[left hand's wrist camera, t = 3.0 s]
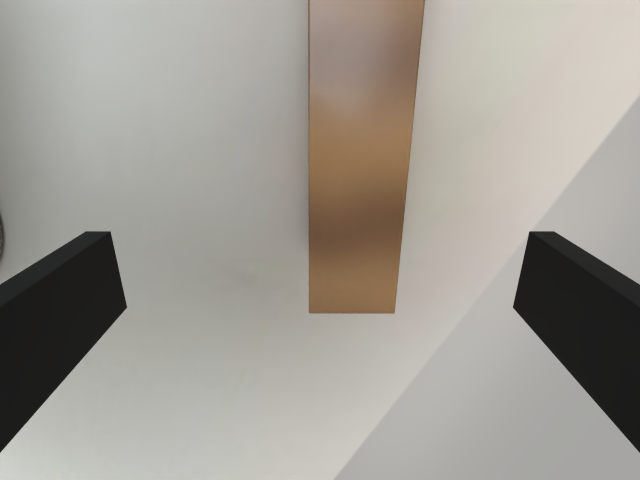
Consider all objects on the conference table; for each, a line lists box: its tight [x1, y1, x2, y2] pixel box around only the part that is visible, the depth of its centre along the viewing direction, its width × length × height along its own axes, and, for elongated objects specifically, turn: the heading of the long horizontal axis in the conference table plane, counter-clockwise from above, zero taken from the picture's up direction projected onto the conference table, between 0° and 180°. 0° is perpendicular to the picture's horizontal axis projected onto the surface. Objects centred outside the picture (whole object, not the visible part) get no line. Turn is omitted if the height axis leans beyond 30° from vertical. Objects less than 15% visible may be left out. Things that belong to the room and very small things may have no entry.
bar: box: [308, 0, 425, 313], centre depth 21 cm, size 26×5×9 cm, turn 179°
